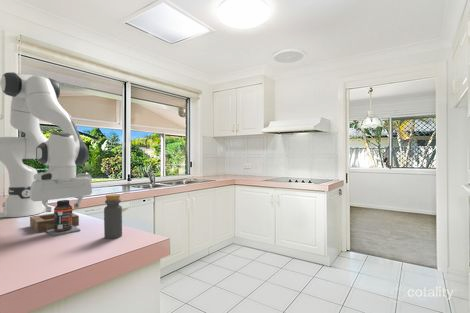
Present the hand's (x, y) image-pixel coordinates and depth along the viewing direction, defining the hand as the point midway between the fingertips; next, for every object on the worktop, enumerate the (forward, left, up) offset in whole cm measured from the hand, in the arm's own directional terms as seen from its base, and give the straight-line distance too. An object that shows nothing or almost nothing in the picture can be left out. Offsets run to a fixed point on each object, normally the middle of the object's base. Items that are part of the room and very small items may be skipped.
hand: (63, 209), depth 102 cm
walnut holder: (-12, 0, -8) cm, 15 cm away
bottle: (+22, +10, -9) cm, 25 cm away
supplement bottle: (0, 0, -8) cm, 8 cm away
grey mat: (0, 0, -8) cm, 8 cm away
